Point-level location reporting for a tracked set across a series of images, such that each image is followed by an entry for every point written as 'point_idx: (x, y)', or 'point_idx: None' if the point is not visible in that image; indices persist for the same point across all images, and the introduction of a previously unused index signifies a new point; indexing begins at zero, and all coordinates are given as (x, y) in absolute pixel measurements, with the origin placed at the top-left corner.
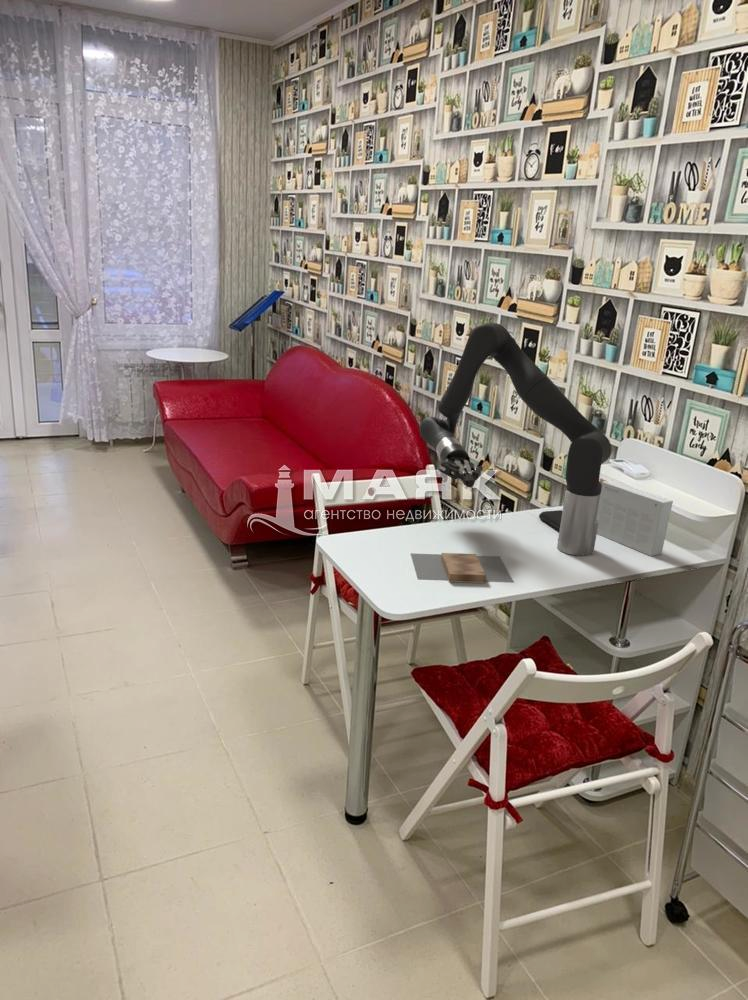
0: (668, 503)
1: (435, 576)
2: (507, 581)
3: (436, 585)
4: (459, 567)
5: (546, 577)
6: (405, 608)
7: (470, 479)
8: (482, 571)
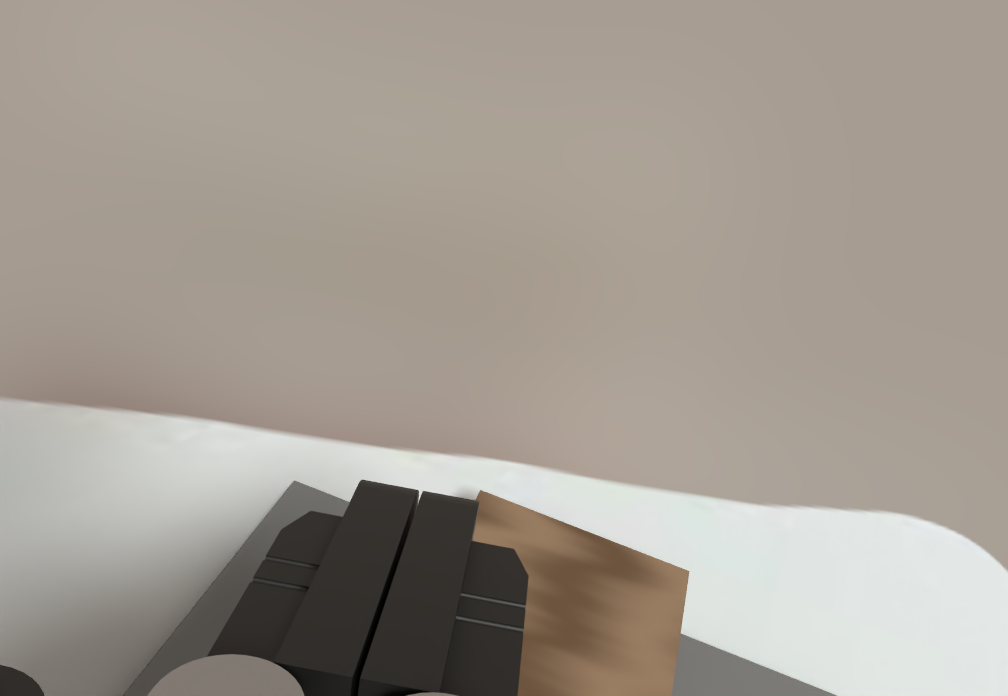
0: None
1: (732, 693)
2: (325, 498)
3: (737, 635)
4: (598, 610)
5: (12, 473)
6: (912, 530)
7: (427, 507)
8: (477, 524)
